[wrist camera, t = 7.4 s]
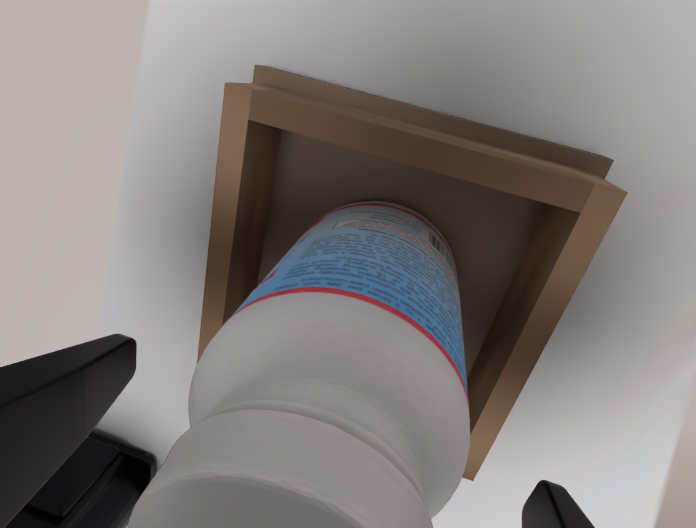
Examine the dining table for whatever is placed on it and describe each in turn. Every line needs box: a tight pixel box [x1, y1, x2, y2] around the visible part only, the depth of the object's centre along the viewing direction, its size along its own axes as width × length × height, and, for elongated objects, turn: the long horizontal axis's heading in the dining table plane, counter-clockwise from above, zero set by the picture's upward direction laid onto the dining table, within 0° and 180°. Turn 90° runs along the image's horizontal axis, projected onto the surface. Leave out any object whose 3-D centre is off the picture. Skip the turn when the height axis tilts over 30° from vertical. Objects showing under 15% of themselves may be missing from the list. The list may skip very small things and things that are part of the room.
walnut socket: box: [197, 65, 627, 481], centre depth 15 cm, size 12×12×4 cm
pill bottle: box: [128, 201, 470, 528], centre depth 11 cm, size 6×6×11 cm
